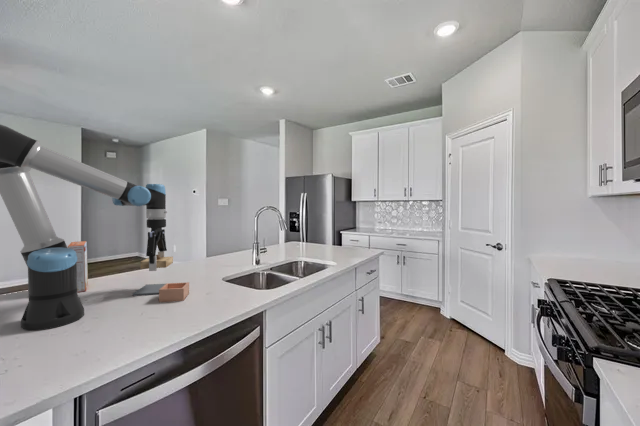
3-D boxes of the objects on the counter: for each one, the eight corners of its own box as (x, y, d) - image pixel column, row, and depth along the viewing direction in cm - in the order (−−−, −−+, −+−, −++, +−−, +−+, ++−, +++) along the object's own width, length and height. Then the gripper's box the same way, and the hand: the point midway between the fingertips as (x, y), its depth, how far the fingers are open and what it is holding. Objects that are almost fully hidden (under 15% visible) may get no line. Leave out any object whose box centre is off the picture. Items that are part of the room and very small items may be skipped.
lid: (140, 268, 120) (140, 257, 120) (149, 263, 130) (149, 253, 130) (165, 267, 122) (165, 256, 122) (172, 262, 132) (172, 252, 132)
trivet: (132, 295, 118) (132, 293, 118) (146, 286, 132) (146, 284, 132) (169, 293, 121) (169, 292, 121) (178, 284, 135) (178, 283, 134)
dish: (159, 302, 110) (158, 289, 110) (166, 294, 119) (166, 283, 119) (183, 300, 112) (183, 288, 112) (189, 293, 121) (189, 282, 121)
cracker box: (71, 286, 131) (70, 241, 130) (88, 284, 134) (87, 240, 134) (67, 294, 119) (66, 245, 119) (86, 291, 123) (85, 244, 122)
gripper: (156, 220, 115) (157, 273, 116) (173, 217, 137) (174, 262, 138) (136, 220, 113) (137, 274, 114) (156, 217, 136) (157, 263, 136)
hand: (157, 267), depth 126 cm, fingers closed on lid, 10 cm apart
